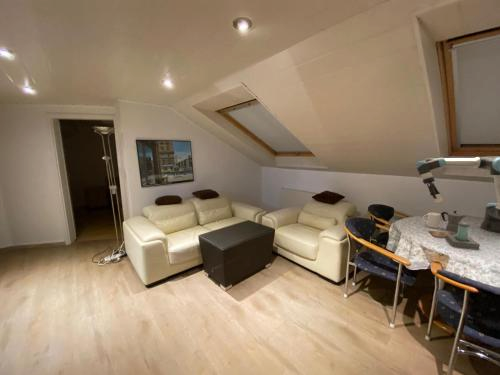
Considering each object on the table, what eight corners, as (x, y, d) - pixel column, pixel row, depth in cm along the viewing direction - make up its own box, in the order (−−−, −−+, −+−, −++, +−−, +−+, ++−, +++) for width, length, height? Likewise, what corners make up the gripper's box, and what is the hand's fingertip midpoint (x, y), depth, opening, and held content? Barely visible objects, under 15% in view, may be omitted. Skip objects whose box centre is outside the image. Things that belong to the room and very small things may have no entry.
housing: (468, 241, 162) (469, 236, 161) (478, 249, 150) (479, 244, 149) (445, 239, 168) (446, 234, 167) (453, 246, 156) (453, 241, 155)
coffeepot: (464, 231, 180) (467, 211, 177) (461, 234, 175) (464, 213, 172) (441, 226, 193) (443, 207, 190) (437, 229, 188) (440, 209, 184)
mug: (421, 225, 198) (422, 213, 196) (423, 223, 203) (424, 211, 201) (437, 228, 189) (439, 215, 187) (439, 226, 194) (441, 213, 192)
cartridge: (464, 243, 160) (467, 222, 157) (468, 246, 155) (471, 225, 152) (454, 241, 163) (457, 221, 160) (457, 245, 157) (460, 224, 154)
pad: (452, 233, 177) (452, 232, 176) (459, 239, 166) (459, 238, 166) (428, 231, 183) (428, 230, 183) (433, 237, 173) (433, 235, 173)
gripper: (425, 180, 190) (436, 202, 184) (418, 179, 174) (430, 204, 168) (435, 177, 184) (447, 199, 178) (429, 176, 168) (442, 201, 163)
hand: (439, 202), depth 173 cm, fingers open, 13 cm apart
